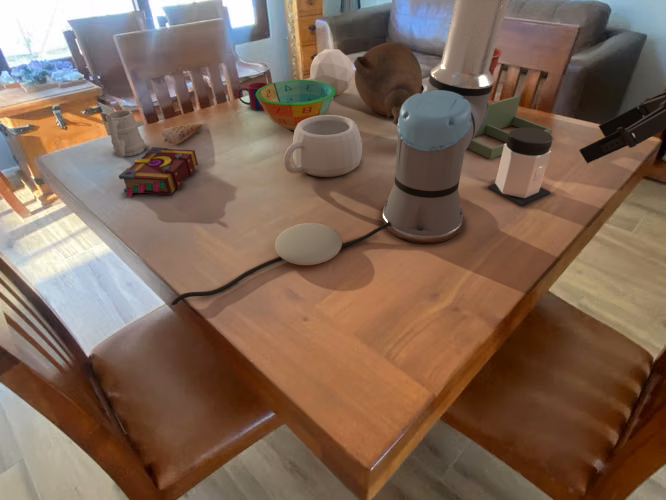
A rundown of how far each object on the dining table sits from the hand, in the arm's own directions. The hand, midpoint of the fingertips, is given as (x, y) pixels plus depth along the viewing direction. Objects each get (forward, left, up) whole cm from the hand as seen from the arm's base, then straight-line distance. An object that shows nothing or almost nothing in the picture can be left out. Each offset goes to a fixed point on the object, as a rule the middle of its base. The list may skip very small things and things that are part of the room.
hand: (593, 143), depth 78 cm
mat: (-4, +10, -14) cm, 17 cm away
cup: (-30, +92, -14) cm, 98 cm away
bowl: (-26, +70, -14) cm, 76 cm away
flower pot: (+25, +55, -14) cm, 62 cm away
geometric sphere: (-3, +89, -14) cm, 90 cm away
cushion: (-52, +16, -14) cm, 56 cm away
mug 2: (-34, +43, -14) cm, 57 cm away
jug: (0, +59, -14) cm, 61 cm away
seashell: (-56, +80, -14) cm, 99 cm away
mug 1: (-72, +78, -14) cm, 107 cm away
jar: (-4, +10, -13) cm, 17 cm away
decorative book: (-68, +58, -14) cm, 90 cm away
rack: (+14, +30, -14) cm, 36 cm away
